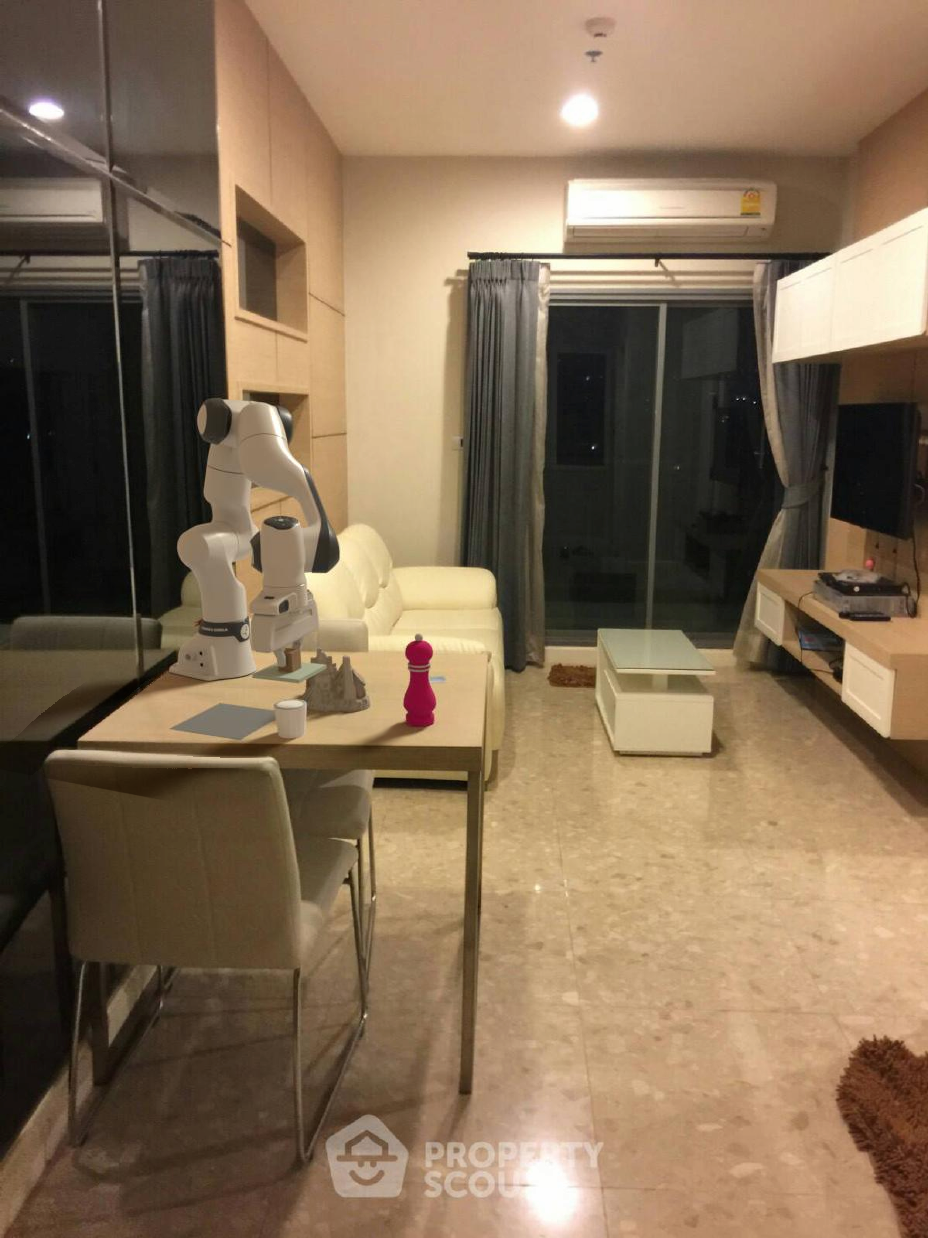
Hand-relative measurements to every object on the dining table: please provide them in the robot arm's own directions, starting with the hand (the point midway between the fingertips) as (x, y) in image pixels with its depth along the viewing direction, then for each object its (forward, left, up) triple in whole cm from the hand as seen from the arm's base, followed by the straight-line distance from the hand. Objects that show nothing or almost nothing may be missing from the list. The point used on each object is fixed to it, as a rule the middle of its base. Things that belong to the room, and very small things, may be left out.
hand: (289, 662), depth 191 cm
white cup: (0, 0, -16) cm, 16 cm away
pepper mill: (+22, +17, -16) cm, 32 cm away
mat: (-17, +2, -16) cm, 24 cm away
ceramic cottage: (-2, +22, -16) cm, 28 cm away
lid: (0, 0, -2) cm, 2 cm away
